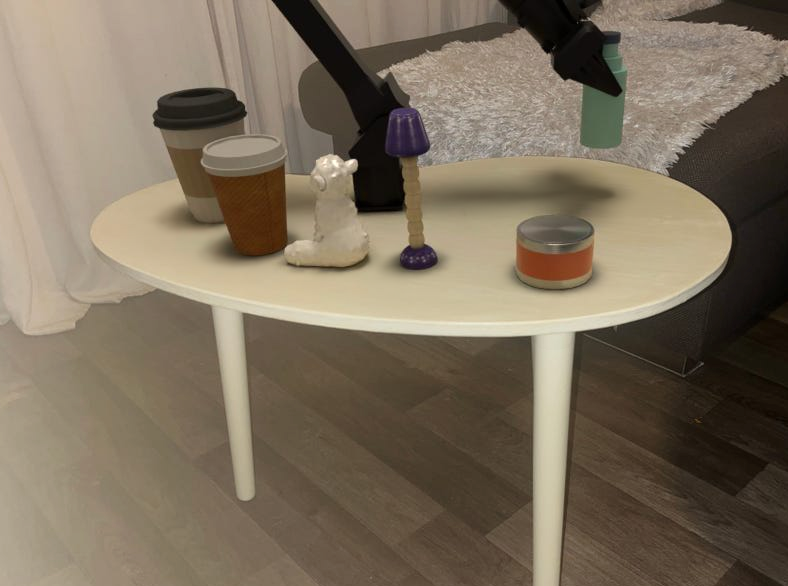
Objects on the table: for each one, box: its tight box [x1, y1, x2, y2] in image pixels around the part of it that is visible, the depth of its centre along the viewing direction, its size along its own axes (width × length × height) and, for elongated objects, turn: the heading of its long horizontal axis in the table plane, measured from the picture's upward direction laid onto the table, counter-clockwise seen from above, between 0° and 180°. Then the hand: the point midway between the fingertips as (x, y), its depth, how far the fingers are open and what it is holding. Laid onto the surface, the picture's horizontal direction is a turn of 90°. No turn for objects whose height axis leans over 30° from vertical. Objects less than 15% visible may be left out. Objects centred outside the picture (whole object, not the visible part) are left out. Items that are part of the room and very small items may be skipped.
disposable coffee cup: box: [201, 133, 288, 256], centre depth 87 cm, size 10×10×12 cm
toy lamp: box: [385, 107, 438, 270], centre depth 80 cm, size 5×5×17 cm
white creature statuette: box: [284, 153, 371, 268], centre depth 83 cm, size 10×9×12 cm
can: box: [515, 214, 596, 290], centre depth 80 cm, size 8×8×5 cm
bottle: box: [579, 30, 629, 150], centre depth 93 cm, size 5×5×13 cm
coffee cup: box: [152, 86, 249, 224], centre depth 96 cm, size 11×11×15 cm
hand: (615, 88), depth 93 cm, fingers closed on bottle, 5 cm apart
